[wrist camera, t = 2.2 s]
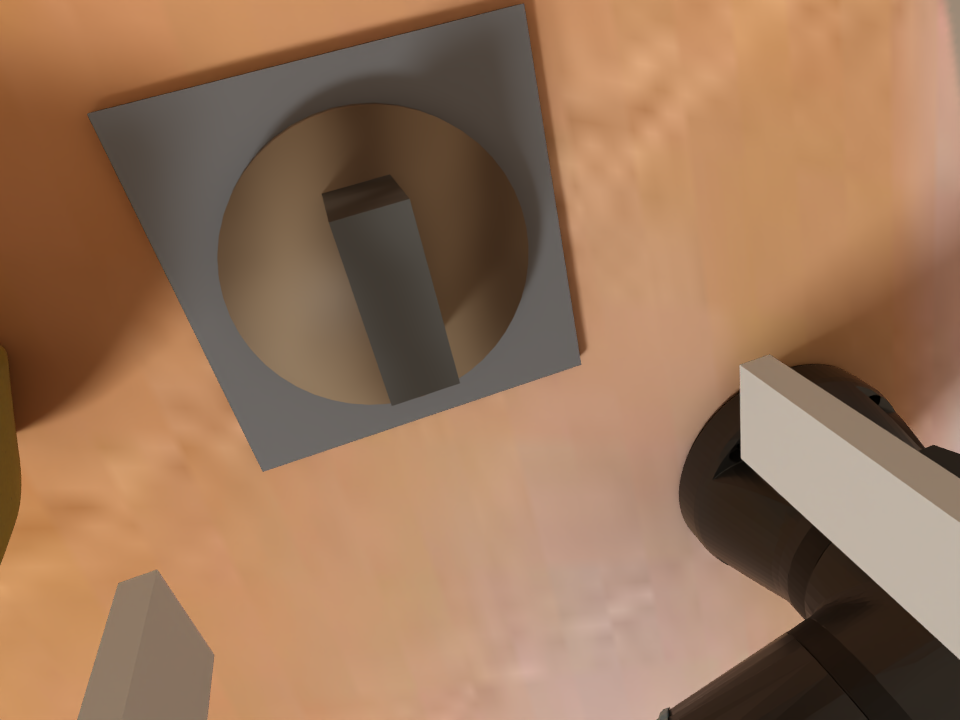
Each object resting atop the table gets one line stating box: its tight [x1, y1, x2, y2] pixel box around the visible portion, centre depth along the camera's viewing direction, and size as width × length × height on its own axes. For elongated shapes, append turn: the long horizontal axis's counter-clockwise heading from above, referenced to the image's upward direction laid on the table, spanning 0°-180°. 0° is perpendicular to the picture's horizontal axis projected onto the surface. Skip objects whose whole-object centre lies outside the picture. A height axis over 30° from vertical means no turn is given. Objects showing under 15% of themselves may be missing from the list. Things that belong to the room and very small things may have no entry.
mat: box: [87, 4, 581, 472], centre depth 30 cm, size 18×18×1 cm
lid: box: [217, 103, 528, 406], centre depth 27 cm, size 14×14×6 cm
